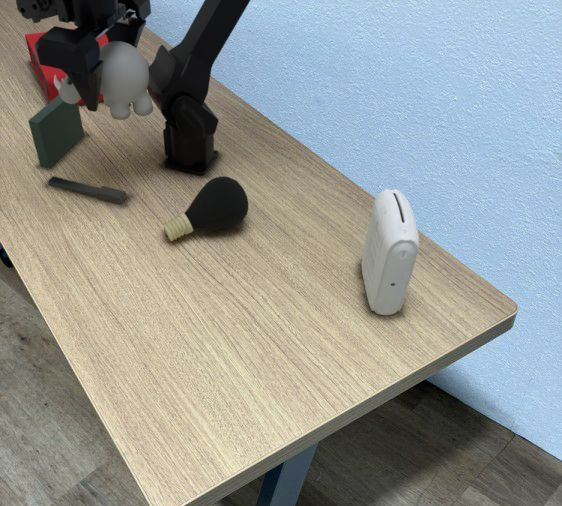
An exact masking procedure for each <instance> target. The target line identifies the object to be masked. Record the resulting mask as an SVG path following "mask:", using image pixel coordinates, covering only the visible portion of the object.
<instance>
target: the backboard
mask: <svg viewBox="0 0 562 506" xmlns="http://www.w3.org/2000/svg"><path fill="white" fill-rule="evenodd" d="M27 122H28V125H29V129H30V132H31V136H32V140H33V144H34V148H35V151H36V155H37V159H38V162H39V166H40V167H44V168H48V169H51V168H52V167H53V166H54V165H55V164H56V163H57V162H58V161H59V160H60V159H61V158H62V157H63V156H64V155H65V154H67V152H69V150H70V149H71V148H73V147H74V146H75V145H76V144H77V143H78V141H80V140H81V139H82V138H83V137H84V136H85V132H84V127H83V122H82V116H81V112H80V107H79V105H78V102H77V103H75V104H69V103H66V102H64V101H63V100H62V99H61V97H60V95H58V96H57V97H56V98H54V99H53V100H52V101H51V102H50V101H49V102H48V103H47V104H46V105H45V106H43V108H41V109H40V110H39V111H38V112H37V113H35V114H34V115H33V116H32V117H31V118H29V119H28V121H27Z"/></svg>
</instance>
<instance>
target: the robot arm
mask: <svg viewBox="0 0 562 506" xmlns="http://www.w3.org/2000/svg"><path fill="white" fill-rule="evenodd" d="M250 2H251V0H204V1H203V3H202V4H201V6H200V8H199V10H198V12H197V13H196V15H195V17H194V19H193V21H192V22H191V24H190V26H189V28H188V30H187V31H186V34H185V35H184V37H183V38H182V40H181V41H180V42H179V43H178V44H176V45H175V46H173V47H172V48H170V49H168V48H167V47H166V46H165V45H164V44H161V45H160V46H159V47H158V49H157V52H156V54H155V57H154V60H153V61H152V62H151V64H149V83H148V87H147V93H148V95H149V97H150V99H151V101H152V103H154V105H155V106H156V108H157V109H158V110H159V112H160V113H161V115H162V116H163V118H164V119H165V122H164V128H163V130H162V136H163V137H162V138H163V148H164V155H165V156H166V158H165V159H164V160H163V167H166V168H169V169H174V170H177V171H182V172H186V173H190V174H194V175H197V176H204V175H205V174H206V173H207V172H208V171H209V169H210V167H211V166H212V164H213V163H214V161H215V160H216V159H217V157H219V150H216V149H215V140H214V139H215V137H214V134H216V131H217V127H218V125H219V122H220V121H219V118H218V117H217V115H215V113H214V111H212V109H211V108H210V107H209V105H208V104H207V103H206V98H207V96H208V93H209V89H210V82H211V75H212V68H213V65H214V64H215V62H216V60H217V58H218V57H219V55H220V53H221V52H222V50H223V48H224V46H225V45H226V43H227V42H228V39H229V38H230V36H231V34H232V33H233V31H234V30H235V28H236V26H237V24H238V23H239V21H240V19H241V18H242V16H243V14H244V12H245V11H246V9H247V7H248V6H249V4H250ZM15 5H16V9H17V11H18V12H19V14H20V15H21V17H23V18H24V19H25V20H31V21H32V23H33V24H38V23H40V22H41V21H42V20H45V19H49V18H53V17H57V18H58V22H60V23H66V24H69V23H73V24H74V25H73V26H75V28H76V29H75V28H74V29H75V30H72V29H73V28H66V27H61V26H57V25H55V26H53V27H51V28H50V29H48V31H45V32H46V33H45V34H44V35H42V36H41V37H40V38H39V39H38V40H37V42H36V43H35V44H34V47H35V51H36V55H37V59H38V62H39V64H40V65H44V66H49V67H53V68H58V69H61V70H62V71H63V72H65V73H66V74H67V76H68V77H69V79H70V80H71V82H72V83H73V85H74V86H75V88H76V90H77V92H78V93H79V95H80V97H81V99H82V100H83V102H84V104H83V105H84V106H85V107H86V109H87V110H88V111H89V112H92V113H96V112H97V111H98V108H99V102H100V101H99V95H100V87H101V78H102V71H103V61H102V60H99V56H100V48H99V43H98V41H97V39H99V38H100V37H101V36H102V35H103V34H104V33H105V34H106V36H107V38H108V43H109V42H113V41H121V42H125V43H128V44H130V45H132V46H134V47H135V48H136V49H138V45H139V42H140V39H141V37H142V33H143V31H144V28H145V26H146V25H147V20H146V19H147V18H148V17H149V16H150V15H151V14H152V7H151V0H15Z"/></svg>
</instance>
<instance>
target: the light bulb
mask: <svg viewBox="0 0 562 506" xmlns="http://www.w3.org/2000/svg"><path fill="white" fill-rule="evenodd" d="M248 212H249V199H248V196H247V192H246V191H245V189H244V188H243V186H242V185H241V184H240V183H239V182H238V181H237V180H236V179H234V178H233V177H229V176H217V177H214V178H211V179H210V180H208V182H206V183H205V184H204V186H202V188H201V189H200V190H199V192H197V194H196V196H195V197H194V199H193V200H192V202H191V203H190V204H189V206H188V207H187V209H186V210H185V212H181V213H179V214H178V215H177V216H174V218H171V219H170V220H167V222H164V225H162V228H163V232H164V234H165V236H166V237H167V238H168V239H169V240H170V241H171V242H173V241H174V240H177V238H179V239H181V237H184V235H186V236H187V235H188V234H191V233H193V232H194V231H196V230H204V231H205V230H206V231H209V230H211V231H213V230H214V231H215V230H216V231H218V230H226V229H227V230H228V229H232V228H234V227H237V226H238V225H239V224H240V223H241V222H243V220H245V219H246V217H247V215H248Z"/></svg>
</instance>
